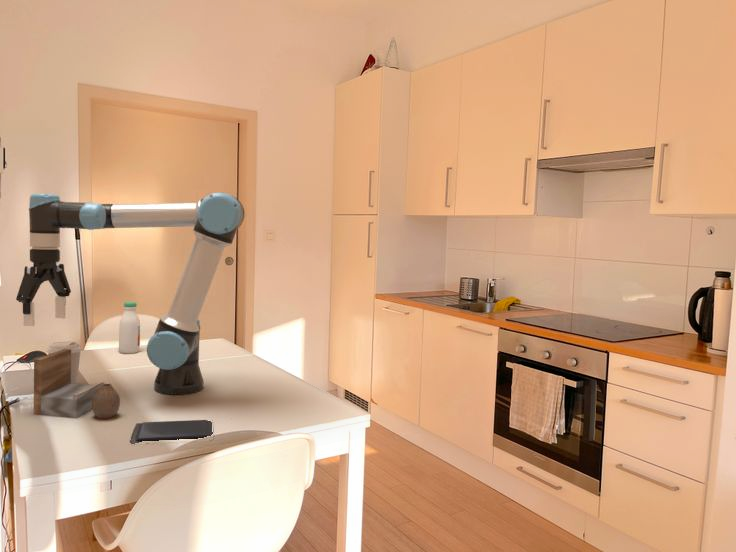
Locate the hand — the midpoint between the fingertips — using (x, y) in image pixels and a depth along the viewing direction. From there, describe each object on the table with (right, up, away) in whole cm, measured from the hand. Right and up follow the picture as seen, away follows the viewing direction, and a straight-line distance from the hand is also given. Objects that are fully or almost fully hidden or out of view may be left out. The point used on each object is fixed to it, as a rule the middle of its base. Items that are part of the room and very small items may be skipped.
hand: (45, 321), depth 165 cm
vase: (+22, -25, -10) cm, 35 cm away
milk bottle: (-3, -17, +64) cm, 66 cm away
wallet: (+43, -28, -18) cm, 54 cm away
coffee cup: (+1, -22, +9) cm, 24 cm away
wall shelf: (+11, -24, -5) cm, 27 cm away
